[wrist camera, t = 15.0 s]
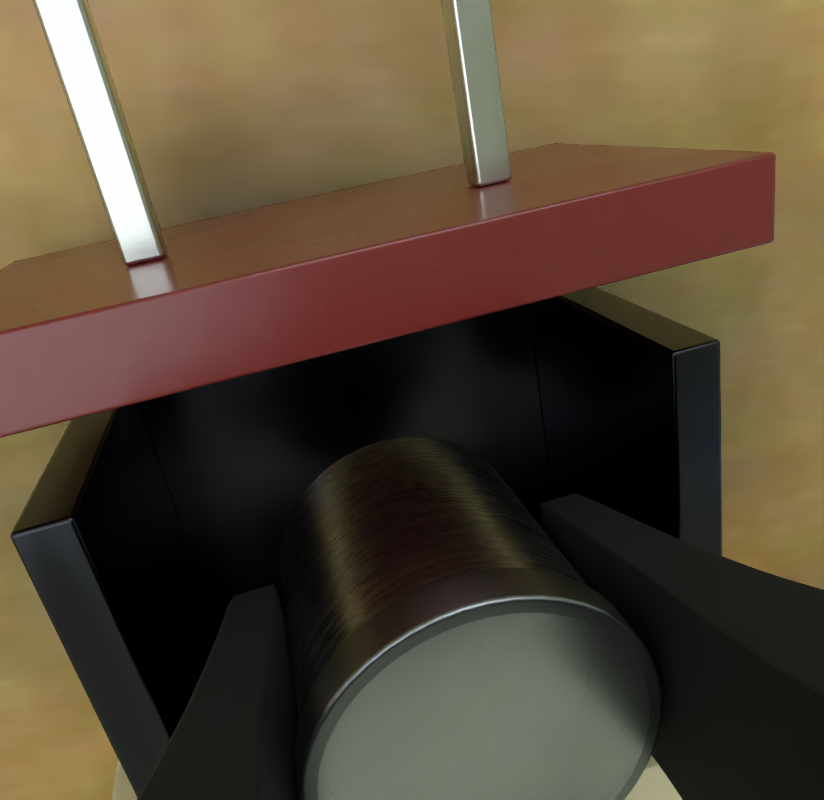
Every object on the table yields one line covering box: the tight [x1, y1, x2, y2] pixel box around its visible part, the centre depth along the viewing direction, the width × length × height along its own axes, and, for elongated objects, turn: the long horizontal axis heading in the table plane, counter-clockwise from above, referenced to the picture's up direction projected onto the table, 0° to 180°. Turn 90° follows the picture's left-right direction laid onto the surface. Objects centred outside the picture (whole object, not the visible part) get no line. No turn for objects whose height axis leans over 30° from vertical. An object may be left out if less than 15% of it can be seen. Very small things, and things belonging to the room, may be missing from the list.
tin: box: [280, 437, 662, 800], centre depth 10 cm, size 4×4×5 cm
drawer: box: [0, 0, 775, 798], centre depth 13 cm, size 19×11×7 cm, turn 11°
